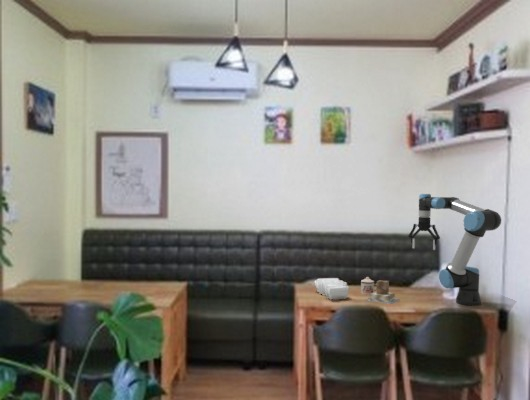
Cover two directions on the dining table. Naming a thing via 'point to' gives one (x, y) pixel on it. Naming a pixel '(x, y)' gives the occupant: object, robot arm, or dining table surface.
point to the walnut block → (382, 287)
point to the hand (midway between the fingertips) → (423, 248)
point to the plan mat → (384, 302)
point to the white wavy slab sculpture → (332, 288)
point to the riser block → (382, 297)
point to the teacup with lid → (367, 286)
